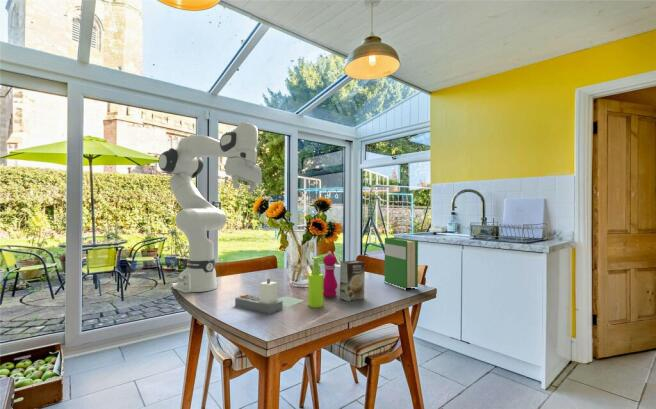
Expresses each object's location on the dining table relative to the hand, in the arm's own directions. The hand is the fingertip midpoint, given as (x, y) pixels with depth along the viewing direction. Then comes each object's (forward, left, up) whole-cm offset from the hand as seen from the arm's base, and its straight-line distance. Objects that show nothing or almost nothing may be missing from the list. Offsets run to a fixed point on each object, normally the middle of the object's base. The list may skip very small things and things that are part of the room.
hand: (243, 190), depth 135 cm
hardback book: (+47, +64, -47) cm, 92 cm away
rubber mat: (+17, +8, -47) cm, 50 cm away
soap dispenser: (+30, +11, -47) cm, 57 cm away
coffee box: (+36, +30, -47) cm, 66 cm away
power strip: (+13, -4, -47) cm, 49 cm away
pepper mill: (+25, +29, -47) cm, 60 cm away
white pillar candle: (+18, -4, -46) cm, 49 cm away
